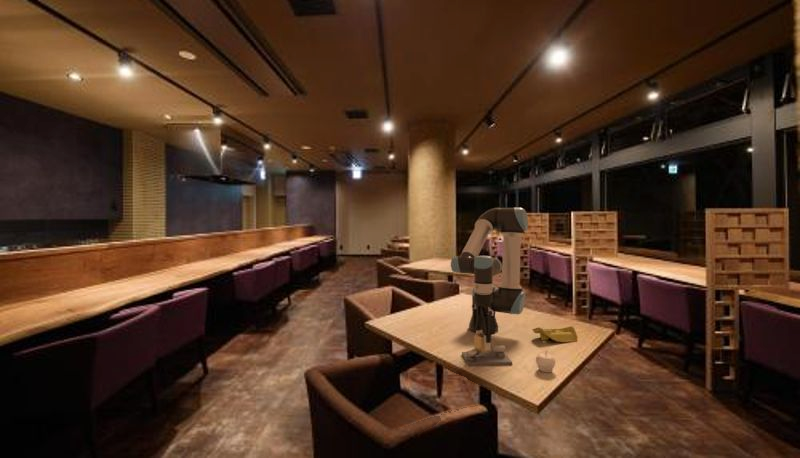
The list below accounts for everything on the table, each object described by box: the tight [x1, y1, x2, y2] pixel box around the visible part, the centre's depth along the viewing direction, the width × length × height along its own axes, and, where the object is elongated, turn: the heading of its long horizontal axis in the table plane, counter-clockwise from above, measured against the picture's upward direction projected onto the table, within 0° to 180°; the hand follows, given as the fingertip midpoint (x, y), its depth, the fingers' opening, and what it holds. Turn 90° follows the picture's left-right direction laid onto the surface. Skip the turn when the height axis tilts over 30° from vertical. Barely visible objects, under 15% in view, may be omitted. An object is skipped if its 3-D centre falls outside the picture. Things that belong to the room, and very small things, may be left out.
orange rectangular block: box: [473, 333, 492, 353], centre depth 153 cm, size 5×5×7 cm
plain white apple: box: [535, 349, 556, 373], centre depth 142 cm, size 7×7×8 cm
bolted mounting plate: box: [461, 345, 513, 367], centre depth 153 cm, size 18×12×5 cm, turn 93°
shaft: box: [466, 348, 480, 362], centre depth 150 cm, size 5×4×4 cm
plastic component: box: [532, 325, 578, 343], centre depth 177 cm, size 20×7×10 cm
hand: (483, 347), depth 153 cm, fingers closed on orange rectangular block, 5 cm apart
